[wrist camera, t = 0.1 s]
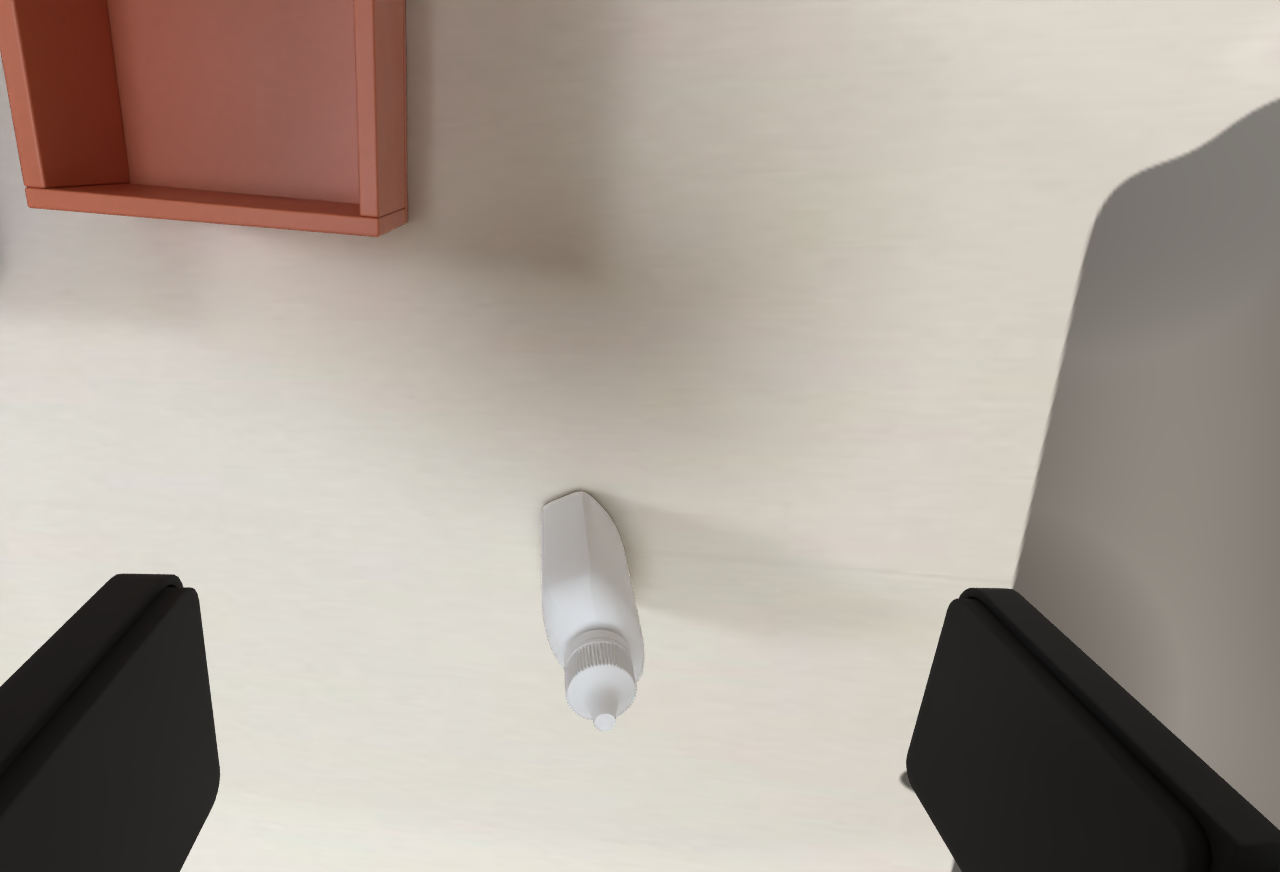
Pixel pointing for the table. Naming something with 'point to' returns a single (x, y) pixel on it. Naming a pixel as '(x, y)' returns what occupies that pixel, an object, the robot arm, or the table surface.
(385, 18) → the terracotta bin
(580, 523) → the eye dropper bottle
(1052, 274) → the table surface
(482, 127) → the table surface
